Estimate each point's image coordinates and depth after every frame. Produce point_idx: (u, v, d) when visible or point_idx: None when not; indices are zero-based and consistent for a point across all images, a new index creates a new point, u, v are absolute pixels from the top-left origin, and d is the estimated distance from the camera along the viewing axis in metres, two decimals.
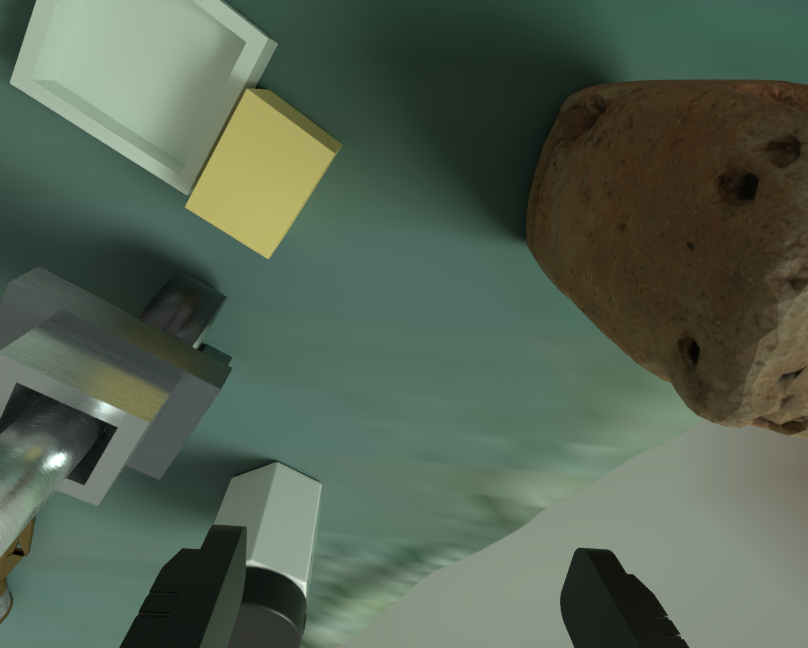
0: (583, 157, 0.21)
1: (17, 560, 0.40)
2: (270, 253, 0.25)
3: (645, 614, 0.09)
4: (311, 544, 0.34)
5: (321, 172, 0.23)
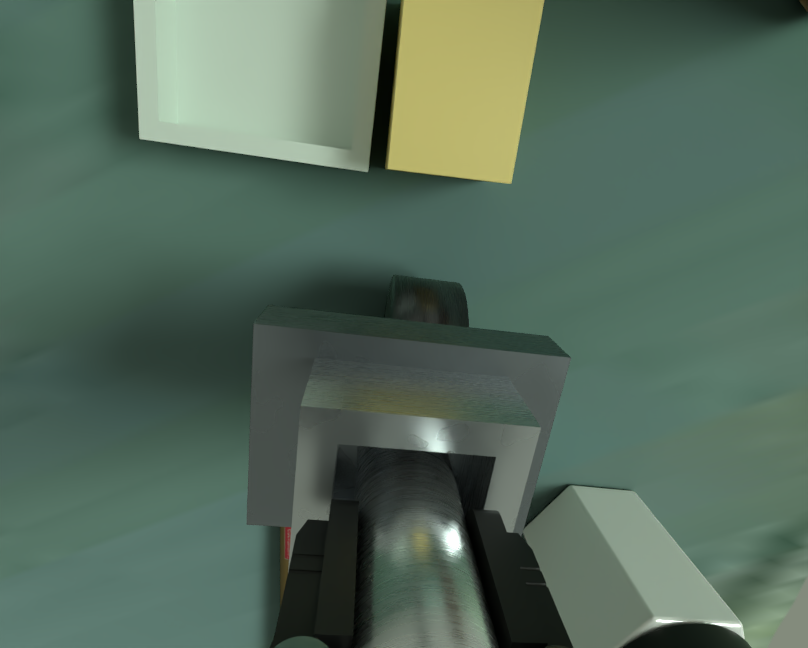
0: None
1: None
2: (510, 174, 0.18)
3: (512, 563, 0.10)
4: (696, 568, 0.24)
5: (539, 17, 0.16)
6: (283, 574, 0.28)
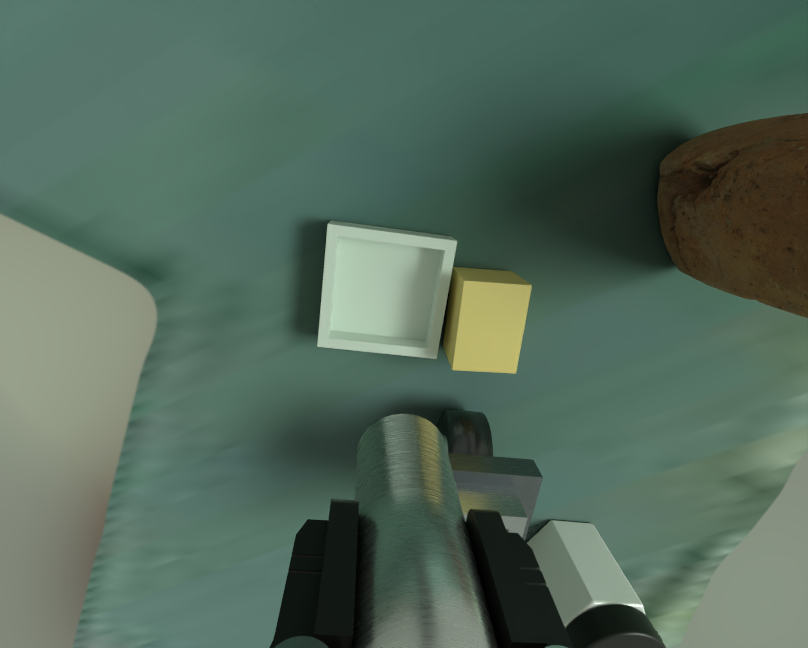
0: (717, 208, 0.28)
1: None
2: (515, 368, 0.35)
3: (512, 563, 0.10)
4: (623, 573, 0.40)
5: (528, 301, 0.33)
6: None
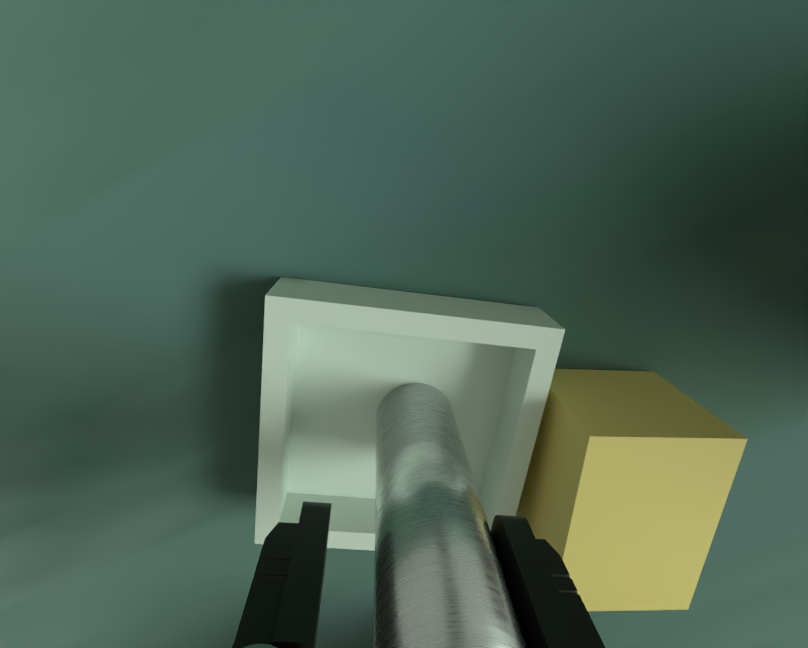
0: None
1: None
2: (688, 601, 0.16)
3: (543, 571, 0.10)
4: None
5: (733, 471, 0.14)
6: None
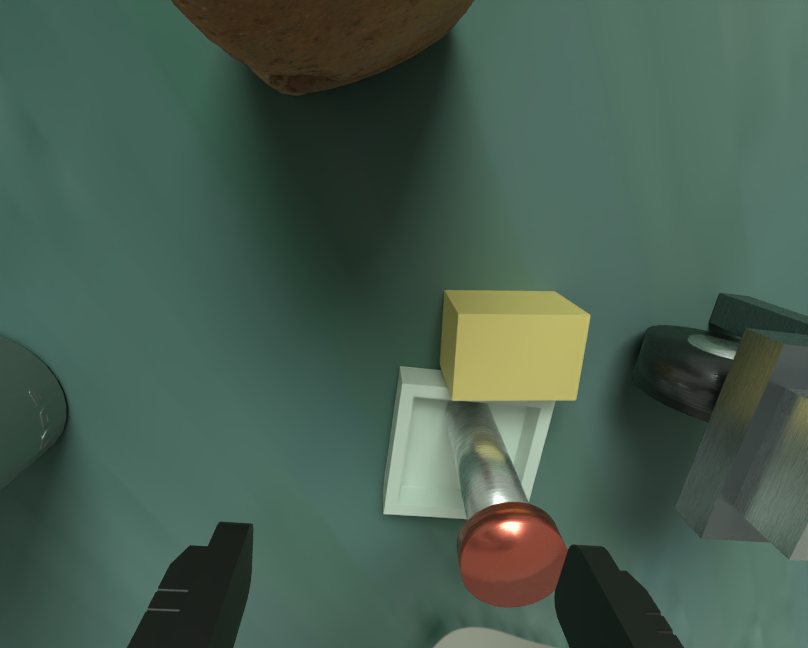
0: (334, 65, 0.16)
1: None
2: (583, 316, 0.23)
3: (637, 610, 0.09)
4: None
5: (481, 315, 0.23)
6: None
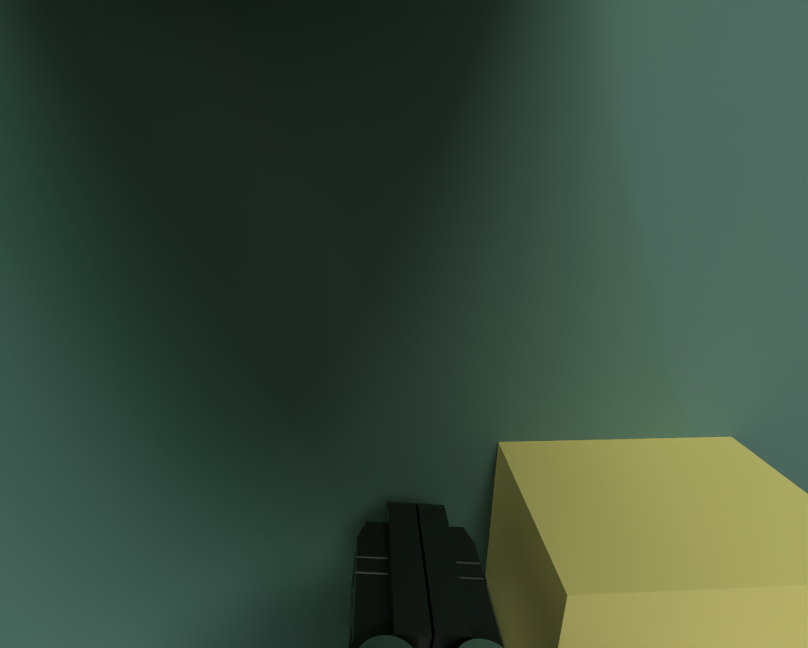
0: None
1: None
2: None
3: (448, 557, 0.10)
4: None
5: (630, 595, 0.08)
6: None
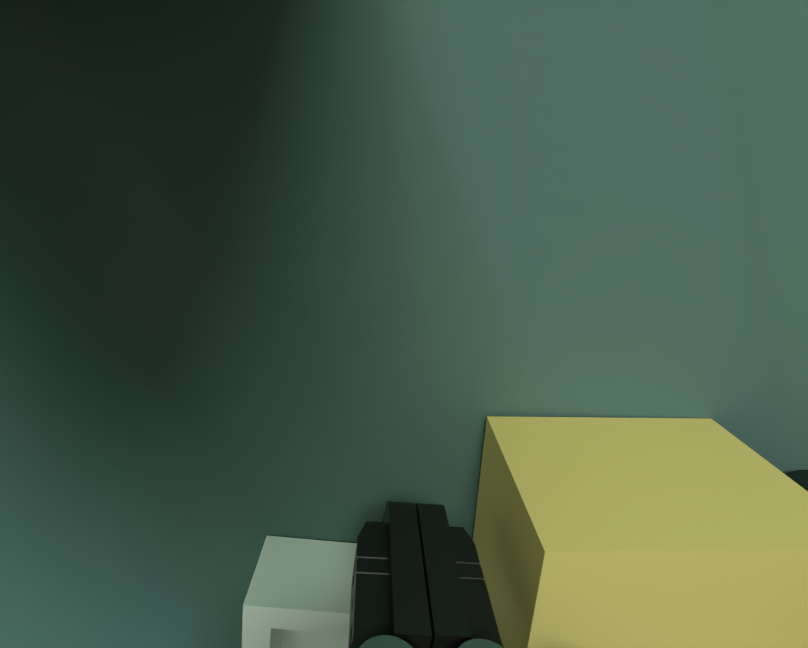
0: None
1: None
2: None
3: (448, 557, 0.10)
4: None
5: (604, 553, 0.09)
6: None
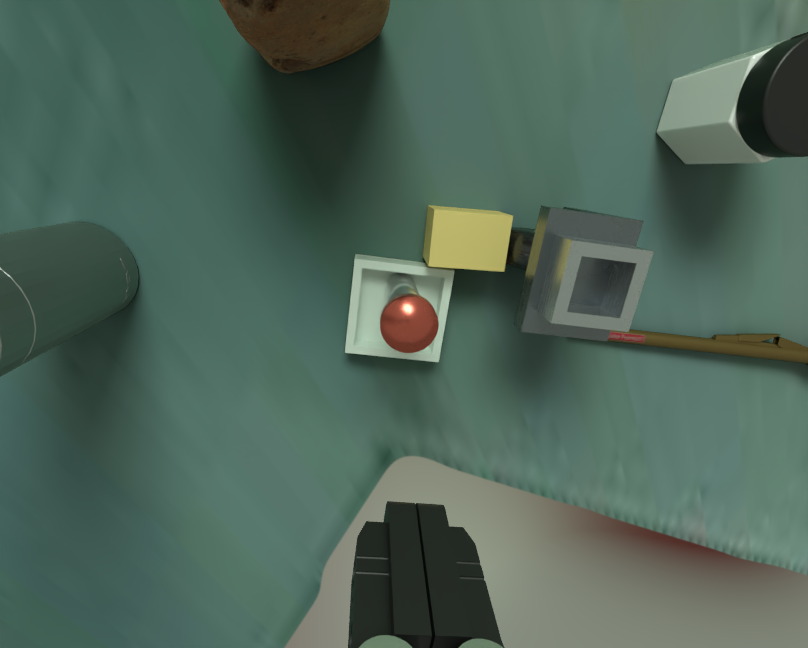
0: (305, 54, 0.32)
1: (785, 340, 0.49)
2: (508, 216, 0.39)
3: (448, 557, 0.10)
4: (721, 66, 0.35)
5: (448, 211, 0.39)
6: (654, 344, 0.48)
